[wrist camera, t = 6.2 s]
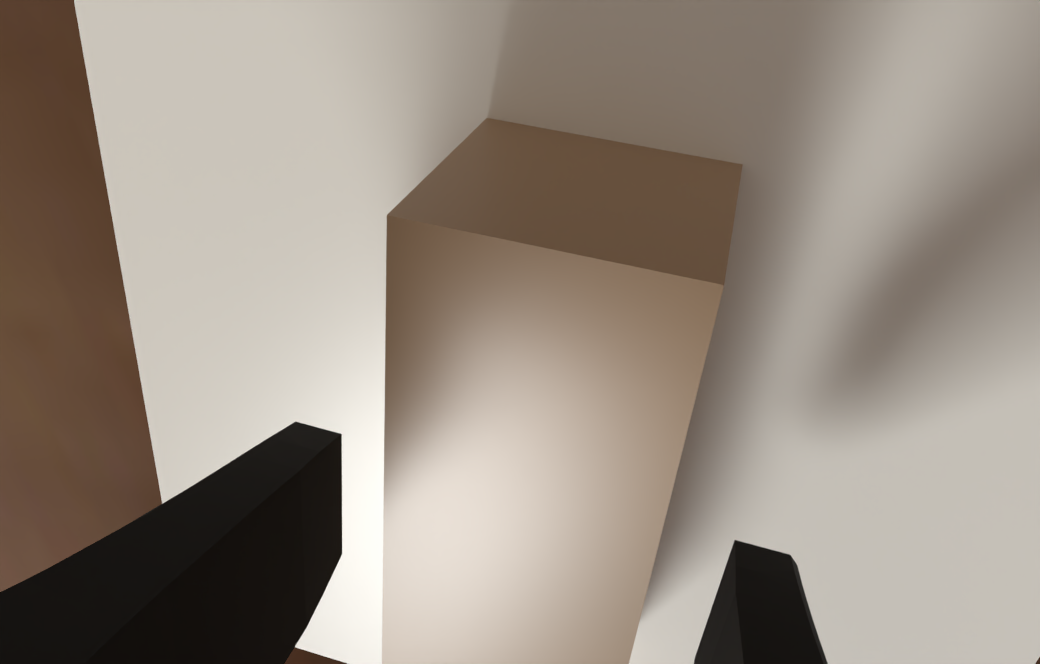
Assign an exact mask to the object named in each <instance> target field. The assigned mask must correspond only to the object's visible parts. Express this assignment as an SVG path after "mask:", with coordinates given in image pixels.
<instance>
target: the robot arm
mask: <svg viewBox="0 0 1040 664" xmlns="http://www.w3.org/2000/svg"><path fill="white" fill-rule="evenodd" d="M341 555H342V434H340V433H336V432H333V431H329V430H325V429H322V428H318V427H314V426H310V425H307V424H303V423H299V422H294V423H292V424H291V425H289V426H287V427H286V428H284V429H282V430H281V431H279V432H277V433H276V434H274V435H272V436H271V437H269V438H268V439H266V440H264V441H263V442H261V443H260V444H258V445H256V446H255V447H253V448H252V449H250V450H248V451H247V452H245V453H244V454H242V455H240V456H239V457H237V458H236V459H234V460H232V461H231V462H229V463H228V464H226V465H225V466H223V467H221V468H220V469H218V470H217V471H215V472H213V473H212V474H210V475H209V476H207V477H205V478H204V479H202V480H201V481H199V482H197V483H196V484H194V485H193V486H191V487H189V488H188V489H186V490H184V491H183V492H181V493H179V494H178V495H176V496H174V497H173V498H171V499H169V500H168V501H166V502H164V503H163V504H161V505H159V506H158V507H156V508H154V509H153V510H151V511H149V512H148V513H146V514H144V515H143V516H141V517H139V518H138V519H136V520H134V521H133V522H131V523H129V524H128V525H126V526H124V527H122V528H121V529H119V530H117V531H115V532H113V533H112V534H110V535H108V536H106V537H104V538H103V539H101V540H99V541H97V542H95V543H93V544H92V545H90V546H88V547H86V548H84V549H83V550H81V551H79V552H77V553H75V554H73V555H72V556H70V557H68V558H66V559H64V560H63V561H61V562H59V563H57V564H55V565H53V566H52V567H50V568H48V569H46V570H44V571H42V572H40V573H38V574H36V575H34V576H32V577H30V578H28V579H26V580H24V581H22V582H20V583H18V584H16V585H14V586H12V587H10V588H8V589H6V590H4V591H2V592H0V664H284V663H285V661H286V660H287V658H288V657H289V655H290V653H291V652H292V650H293V649H294V647H295V646H296V644H297V642H298V641H299V639H300V638H301V636H302V634H303V633H304V631H305V630H306V628H307V626H308V624H309V622H310V620H311V618H312V616H313V614H314V612H315V610H316V608H317V606H318V604H319V602H320V600H321V598H322V596H323V594H324V592H325V590H326V587H327V585H328V583H329V581H330V579H331V577H332V575H333V572H334V570H335V568H336V566H337V564H338V562H339V560H340V558H341ZM694 664H828V663H827V660H826V657H825V654H824V651H823V648H822V645H821V643H820V640H819V637H818V634H817V631H816V628H815V625H814V621H813V618H812V615H811V612H810V609H809V605H808V602H807V599H806V595H805V592H804V588H803V585H802V581H801V578H800V574H799V570H798V566H797V564H796V562H795V561H794V559H793V558H792V556H791V555H789V554H786V553H782V552H778V551H775V550H771V549H767V548H763V547H760V546H756V545H752V544H749V543H745V542H741V541H737V540H734V543H733V546H732V549H731V552H730V555H729V558H728V561H727V564H726V567H725V570H724V573H723V576H722V579H721V582H720V585H719V588H718V591H717V594H716V597H715V599H714V602H713V605H712V608H711V611H710V614H709V617H708V620H707V623H706V626H705V629H704V632H703V635H702V638H701V641H700V644H699V647H698V650H697V653H696V656H695V660H694Z"/></svg>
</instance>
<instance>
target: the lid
mask: <svg viewBox="0 0 1040 664" xmlns="http://www.w3.org/2000/svg"><path fill="white" fill-rule="evenodd" d="M74 3H75V9H76V15H77V20H78V26H79V32H80V37H81V43H82V49H83V54H84V60H85V66H86V71H87V77H88V83H89V89H90V94H91V100H92V106H93V111H94V117H95V123H96V128H97V134H98V140H99V146H100V151H101V157H102V163H103V168H104V174H105V180H106V185H107V191H108V197H109V202H110V208H111V214H112V220H113V225H114V231H115V237H116V242H117V248H118V254H119V259H120V265H121V271H122V276H123V282H124V288H125V294H126V299H127V305H128V311H129V316H130V322H131V328H132V333H133V339H134V345H135V351H136V356H137V362H138V368H139V373H140V379H141V385H142V390H143V396H144V402H145V407H146V413H147V419H148V425H149V430H150V436H151V442H152V447H153V453H154V459H155V464H156V470H157V476H158V481H159V487H160V493H161V499H162V504H163V503H164V502H166V501H168V500H169V499H171V498H173V497H174V496H176V495H178V494H179V493H181V492H183V491H184V490H186V489H188V488H189V487H191V486H193V485H194V484H196V483H197V482H199V481H201V480H202V479H204V478H205V477H207V476H209V475H210V474H212V473H213V472H215V471H217V470H218V469H220V468H221V467H223V466H225V465H226V464H228V463H229V462H231V461H232V460H234V459H236V458H237V457H239V456H240V455H242V454H244V453H245V452H247V451H248V450H250V449H252V448H253V447H255V446H256V445H258V444H260V443H261V442H263V441H264V440H266V439H268V438H269V437H271V436H272V435H274V434H276V433H277V432H279V431H281V430H282V429H284V428H286V427H287V426H289V425H291V424H292V423H294V422H299V423H303V424H307V425H310V426H314V427H318V428H322V429H325V430H329V431H333V432H336V433H340V434H342V555H341V558H340V560H339V562H338V564H337V566H336V568H335V570H334V572H333V575H332V577H331V579H330V581H329V583H328V585H327V587H326V590H325V592H324V594H323V596H322V598H321V600H320V602H319V604H318V606H317V608H316V610H315V612H314V614H313V616H312V618H311V620H310V622H309V624H308V626H307V628H306V630H305V631H304V633H303V634H302V636H301V638H300V639H299V641H298V642H297V644H296V646H295V647H297V648H300V649H303V650H306V651H309V652H313V653H316V654H319V655H322V656H326V657H329V658H332V659H335V660H338V661H342V662H345V663H348V664H694V660H695V656H696V653H697V650H698V647H699V644H700V641H701V638H702V635H703V632H704V629H705V626H706V623H707V620H708V617H709V614H710V611H711V608H712V605H713V602H714V599H715V597H716V594H717V591H718V588H719V585H720V582H721V579H722V576H723V573H724V570H725V567H726V564H727V561H728V558H729V555H730V552H731V549H732V546H733V543H734V540H737V541H741V542H745V543H749V544H752V545H756V546H760V547H763V548H767V549H771V550H775V551H778V552H782V553H786V554H789V555H791V556H792V558H793V559H794V561H795V562H796V564H797V566H798V570H799V574H800V578H801V581H802V585H803V588H804V592H805V595H806V599H807V602H808V605H809V609H810V612H811V615H812V618H813V621H814V625H815V628H816V631H817V634H818V637H819V640H820V643H821V645H822V648H823V651H824V654H825V657H826V660H827V663H828V664H1035V663H1036V661H1037V660H1038V658H1039V657H1040V0H74Z"/></svg>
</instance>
